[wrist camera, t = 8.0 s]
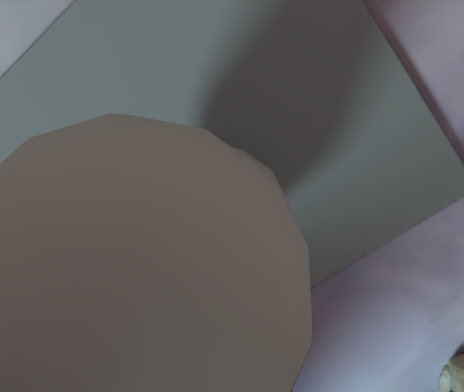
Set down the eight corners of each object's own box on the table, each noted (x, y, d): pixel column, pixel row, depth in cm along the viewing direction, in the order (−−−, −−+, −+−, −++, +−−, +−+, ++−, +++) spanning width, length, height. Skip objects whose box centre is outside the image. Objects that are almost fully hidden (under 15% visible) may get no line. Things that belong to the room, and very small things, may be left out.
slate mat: (198, 349, 22) (197, 355, 22) (-39, 124, 17) (-46, 126, 17) (472, 184, 17) (477, 188, 17) (250, -177, 13) (250, -183, 12)
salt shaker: (124, 190, 17) (-302, 190, 4) (243, 125, 17) (219, -113, 4) (188, 312, 17) (-19, 733, 4) (309, 249, 16) (532, 464, 4)
